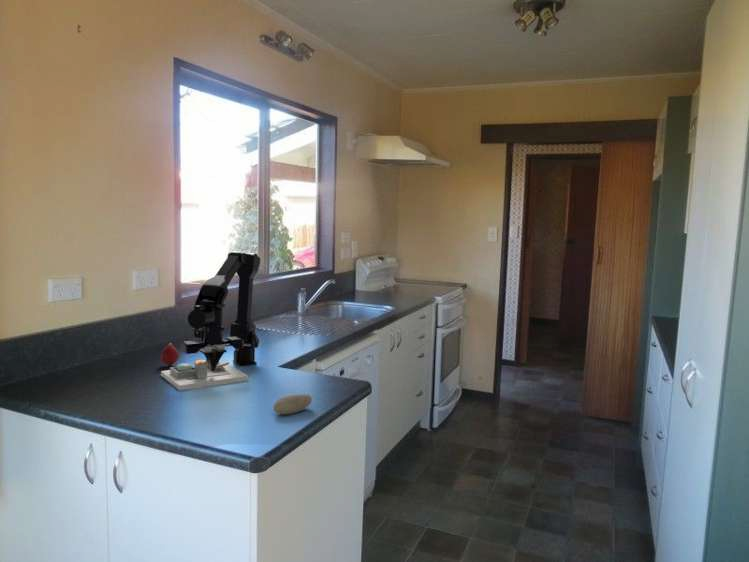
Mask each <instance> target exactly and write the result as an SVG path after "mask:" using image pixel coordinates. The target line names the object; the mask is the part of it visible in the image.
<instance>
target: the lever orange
mask: <svg viewBox="0 0 749 562" xmlns="http://www.w3.org/2000/svg"><path fill="white" fill-rule="evenodd" d="M207 364H208V362H207V361H206V359H199V360H194V361H193V366H194V377H196V378H197V379H201V378H207Z"/></svg>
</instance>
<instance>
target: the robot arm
mask: <svg viewBox="0 0 749 562" xmlns="http://www.w3.org/2000/svg"><path fill="white" fill-rule="evenodd" d="M260 265H261V258H260V256H258V253H254V252H243V251H233V250H232V251H229V252H228V254H227V257H226V259H225V261H224V262H223V264H222V265H221V266H220V268H219V270H218V271H217V273H216V274H215V275H214V276H213V277H210V278H208V279H206V281H205V282H203V284H202V285H201V287H200V290H199V292H198V294H197V298H196V300H195V302H194V307H193V310H191V311H190V312H189V314H188V315H187V322H188V324H189V326H190V327H191V331H190V332H191V333H190V334H191V339H192V340H187V341H186V340H185V341H182V342H181V343H180V351H182V352H183V353H185V354H187V355H188V354H189V355H191V354H198V353H199V352H200V354H203V355H204V357H205V360H206V359H207V362H208V365H209V368H210V371H211V372H214V370H215V368H216V366H217V364H218V362H219V361H221V358H222V357H223V355H224V354H225V353H227V352H228V351H227V349H226V347H233V348H234V350H233V359H232V363H234V364H236V365H237V366H248V365H250V366H251V365H256V364H257V361H256V360H255V359H256V357H255V354H256V353H255V352H256V349H257V348H258V347H259V344H260V339H259V337H258V335H257V333H256V326H255V324H254V322H253V320H252V319H251V318H252V307H253V306H252V304H253V303H252V302H253V290H254V289H253V287H254V278H255V276H256V275H257V274H258V273H259V269H260ZM236 274H237V276H238V293H237V310H236V311H237V312H236V319H235V321H233V322H232V323H231V324H230V332H229V336H228V337H225V339H223V331H224V330H225V327H224V326H223V309H224V308H225V307H226V304H225V303H224V302H225V301H226V298H227V297H228V294H229V288H228V287H229V284H230V283H231V281H232V280H233V279H234V277H235V275H236ZM194 339H197V340H196V341H197V342H196V341H195V340H194Z"/></svg>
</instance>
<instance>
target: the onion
mask: <svg viewBox="0 0 749 562" xmlns="http://www.w3.org/2000/svg"><path fill="white" fill-rule="evenodd" d="M179 357H180V353H179V351H178V349H177V348H176V347H175V346H173V343H172V342H170V343H168V345H167V346H166V347H164V348H163V349H162V351H161V354H160V359H161V361H162V363H164V364H165V365H167V366H168V367H173V365H174V364H175V363H176V362H178V359H179Z"/></svg>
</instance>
